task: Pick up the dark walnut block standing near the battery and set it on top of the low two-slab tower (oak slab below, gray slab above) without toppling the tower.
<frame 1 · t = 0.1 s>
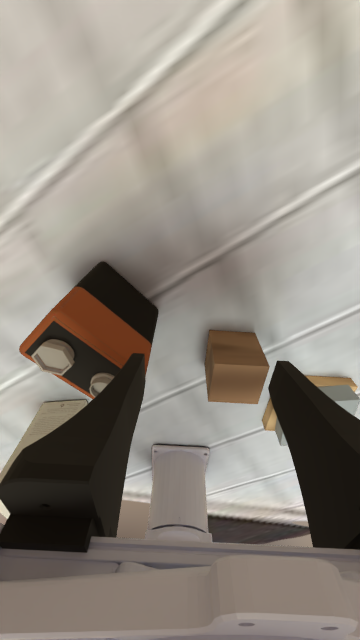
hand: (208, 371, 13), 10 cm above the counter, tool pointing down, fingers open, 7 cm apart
walnut block: (228, 349, 25), on the counter
gray slab: (308, 409, 27), point 1 cm above the counter, touching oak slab
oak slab: (300, 396, 29), on the counter, touching gray slab
small box: (76, 419, 32), on the counter
battery: (119, 299, 23), on the counter
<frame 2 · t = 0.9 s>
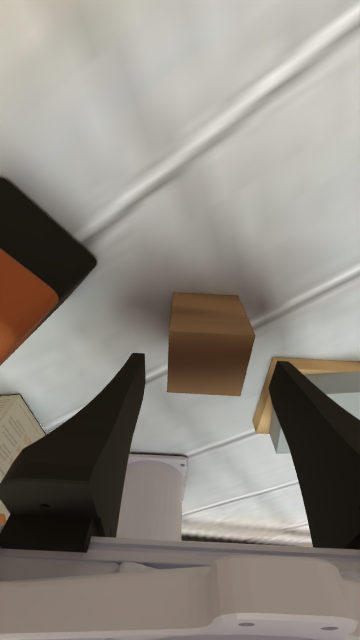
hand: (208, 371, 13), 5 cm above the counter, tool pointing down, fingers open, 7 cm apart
walnut block: (202, 321, 18), on the counter
gray slab: (315, 404, 20), point 1 cm above the counter, touching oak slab
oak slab: (302, 388, 22), on the counter, touching gray slab
small box: (14, 420, 25), on the counter
battery: (39, 244, 16), on the counter
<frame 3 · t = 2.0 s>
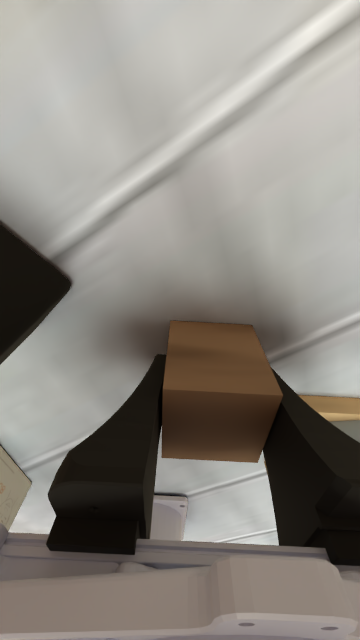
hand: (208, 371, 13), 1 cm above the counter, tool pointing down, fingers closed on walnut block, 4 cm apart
walnut block: (206, 354, 14), on the counter, touching gripper
gray slab: (340, 452, 17), point 1 cm above the counter
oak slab: (325, 426, 19), on the counter
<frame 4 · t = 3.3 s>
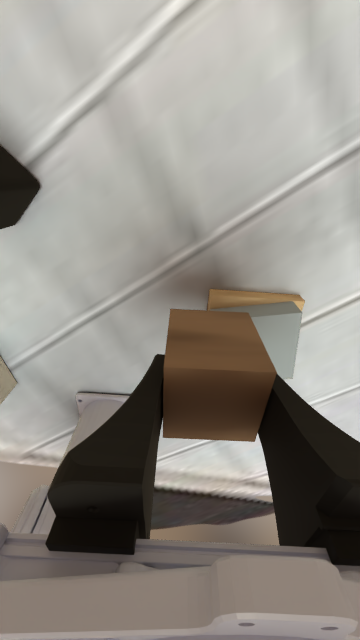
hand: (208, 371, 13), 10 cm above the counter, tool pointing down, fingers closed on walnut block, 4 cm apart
walnut block: (205, 342, 15), point 8 cm above the counter, touching gripper
gray slab: (249, 338, 23), point 1 cm above the counter, touching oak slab
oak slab: (243, 325, 24), on the counter, touching gray slab
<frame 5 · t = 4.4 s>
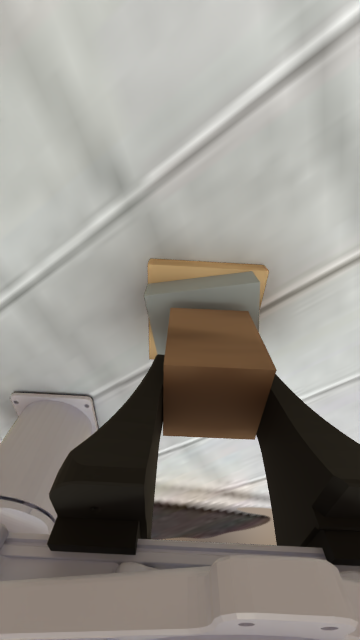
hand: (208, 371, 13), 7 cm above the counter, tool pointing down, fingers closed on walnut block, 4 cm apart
walnut block: (205, 341, 15), point 4 cm above the counter, touching gripper
gray slab: (203, 321, 18), point 1 cm above the counter, touching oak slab
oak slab: (201, 307, 20), on the counter, touching gray slab
when the fingers open (7 cm above the counter, at t = 4.7 s): walnut block drops 1 cm, point 3 cm above the counter.
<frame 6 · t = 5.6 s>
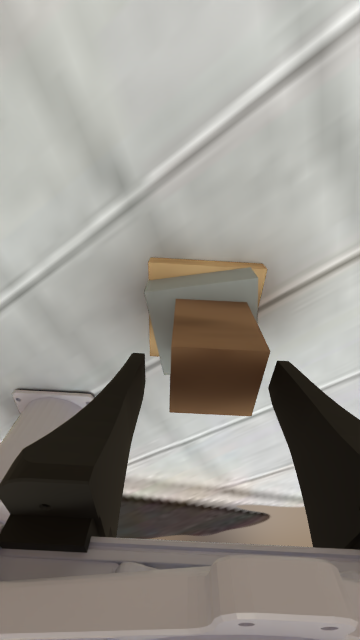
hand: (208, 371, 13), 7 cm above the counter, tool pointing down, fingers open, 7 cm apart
walnut block: (207, 330, 16), point 3 cm above the counter
gray slab: (203, 317, 18), point 1 cm above the counter, touching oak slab
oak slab: (200, 305, 20), on the counter, touching gray slab
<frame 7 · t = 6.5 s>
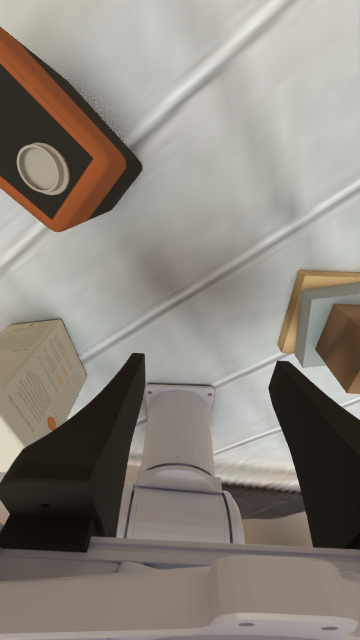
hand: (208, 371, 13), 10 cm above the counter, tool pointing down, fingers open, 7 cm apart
walnut block: (350, 329, 20), point 3 cm above the counter, touching gray slab
gray slab: (337, 319, 22), point 1 cm above the counter, touching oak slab, walnut block
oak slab: (325, 309, 24), on the counter, touching gray slab
small box: (53, 350, 26), on the counter
battery: (90, 152, 17), on the counter
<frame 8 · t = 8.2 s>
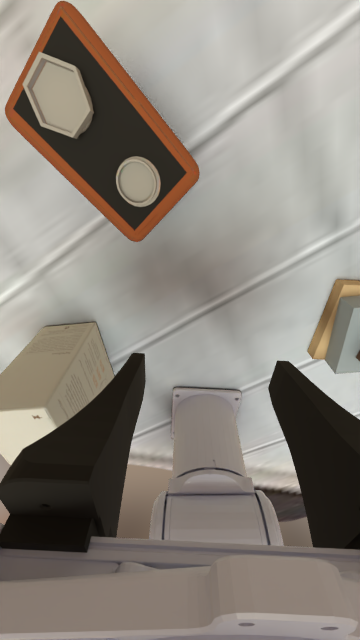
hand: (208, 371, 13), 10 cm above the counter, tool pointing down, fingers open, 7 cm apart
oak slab: (356, 316, 24), on the counter, touching gray slab
small box: (83, 352, 26), on the counter
battery: (142, 159, 17), on the counter
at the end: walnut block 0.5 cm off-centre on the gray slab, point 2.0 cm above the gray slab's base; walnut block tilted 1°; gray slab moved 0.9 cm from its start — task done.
